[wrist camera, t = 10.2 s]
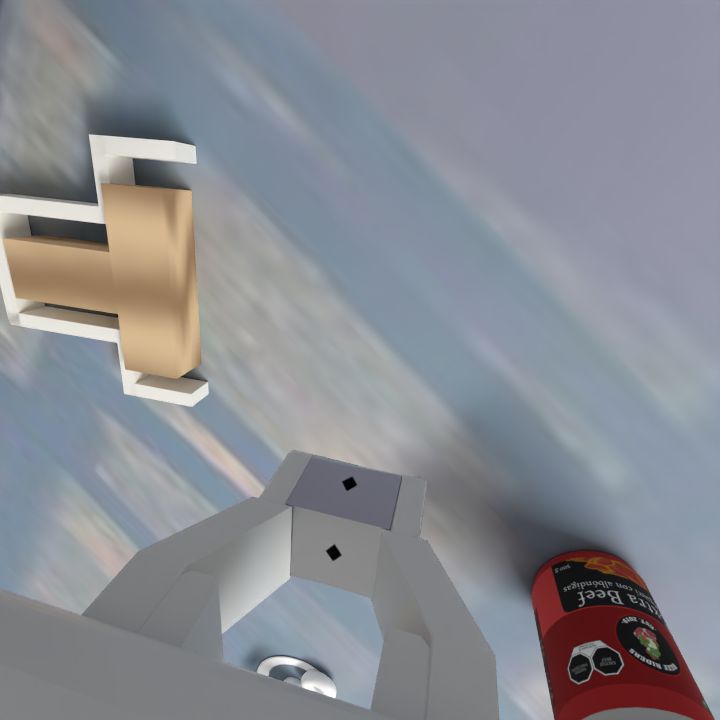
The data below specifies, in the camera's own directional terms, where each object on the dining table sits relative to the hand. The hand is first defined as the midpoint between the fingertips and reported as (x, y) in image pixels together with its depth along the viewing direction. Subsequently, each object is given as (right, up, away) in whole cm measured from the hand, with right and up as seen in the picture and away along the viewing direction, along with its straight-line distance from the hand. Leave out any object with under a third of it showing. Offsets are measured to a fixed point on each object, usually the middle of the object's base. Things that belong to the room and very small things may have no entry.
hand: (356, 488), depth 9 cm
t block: (-17, +9, +21) cm, 28 cm away
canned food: (+17, -14, +22) cm, 31 cm away
